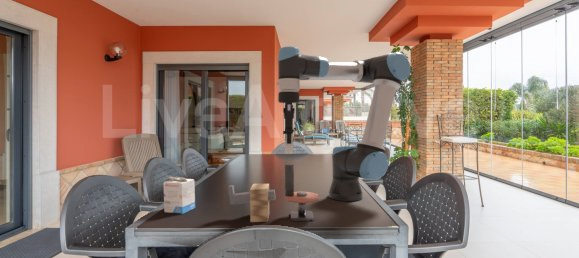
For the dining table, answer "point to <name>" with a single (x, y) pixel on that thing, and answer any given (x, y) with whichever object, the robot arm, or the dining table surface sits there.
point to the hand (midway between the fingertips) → (288, 151)
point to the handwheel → (289, 189)
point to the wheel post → (302, 213)
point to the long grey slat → (245, 196)
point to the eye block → (259, 203)
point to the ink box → (179, 195)
